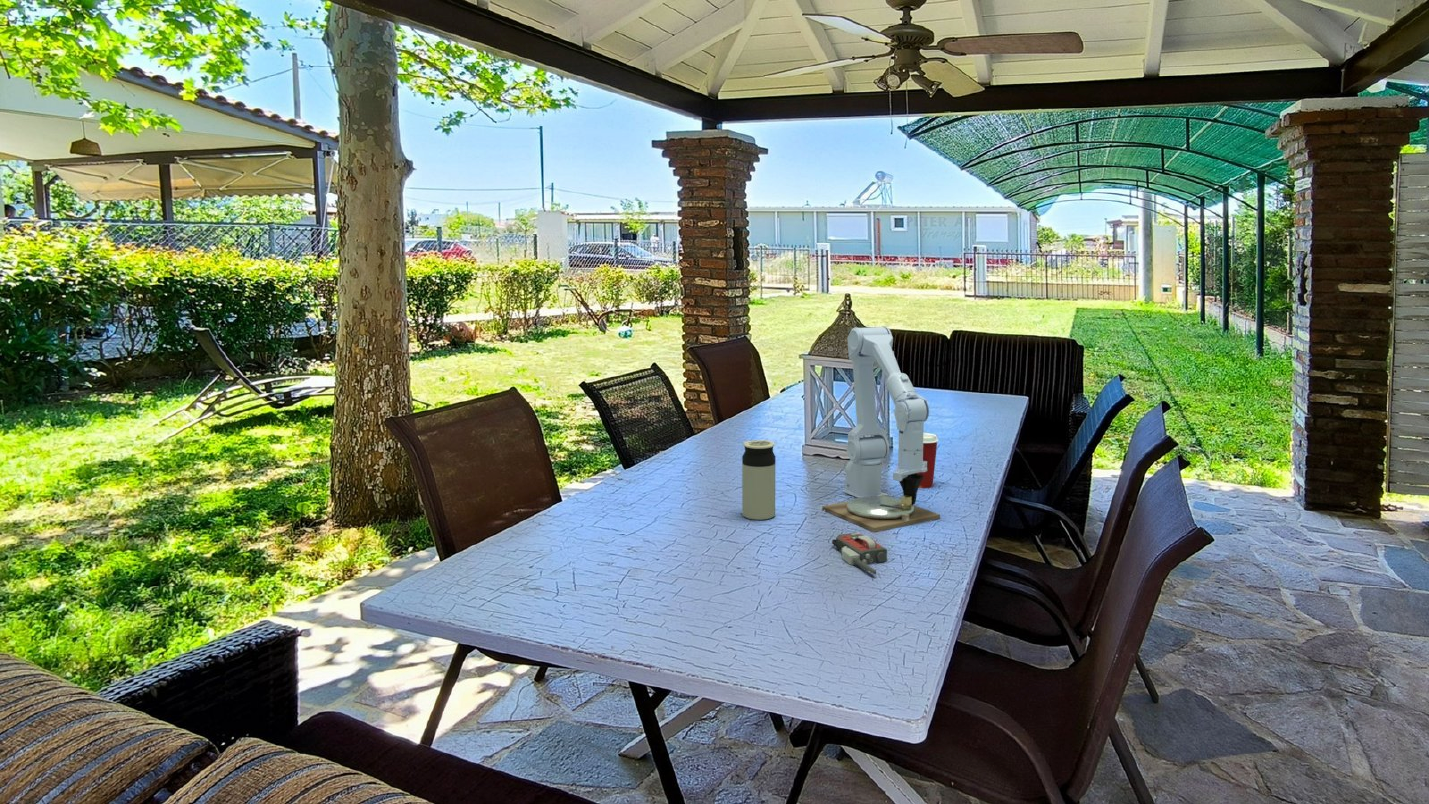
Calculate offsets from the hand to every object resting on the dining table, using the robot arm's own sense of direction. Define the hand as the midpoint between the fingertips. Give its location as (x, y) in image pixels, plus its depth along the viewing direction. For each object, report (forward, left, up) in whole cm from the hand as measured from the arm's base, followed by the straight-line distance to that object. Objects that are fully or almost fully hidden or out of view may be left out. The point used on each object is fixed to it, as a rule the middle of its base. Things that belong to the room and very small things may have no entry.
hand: (909, 504), depth 209 cm
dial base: (-5, -5, -3) cm, 8 cm away
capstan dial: (-5, -5, -2) cm, 7 cm away
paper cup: (-20, +22, -3) cm, 30 cm away
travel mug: (-19, -31, -3) cm, 36 cm away
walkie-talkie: (+18, -28, -4) cm, 33 cm away
